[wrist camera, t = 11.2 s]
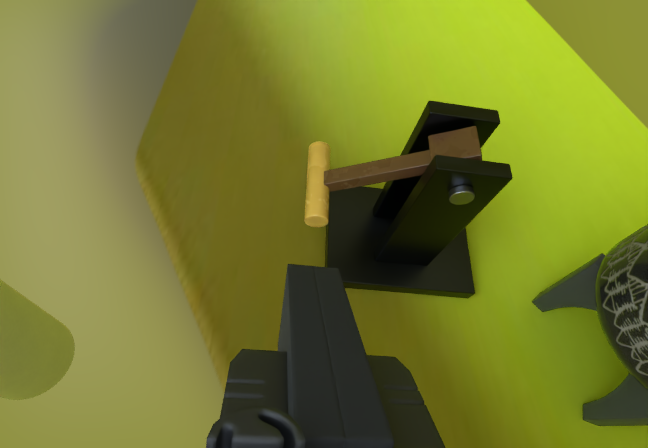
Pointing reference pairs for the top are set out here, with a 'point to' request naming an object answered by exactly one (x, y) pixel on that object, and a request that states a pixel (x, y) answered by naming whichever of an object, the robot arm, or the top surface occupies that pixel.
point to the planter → (614, 322)
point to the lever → (377, 169)
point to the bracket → (417, 215)
